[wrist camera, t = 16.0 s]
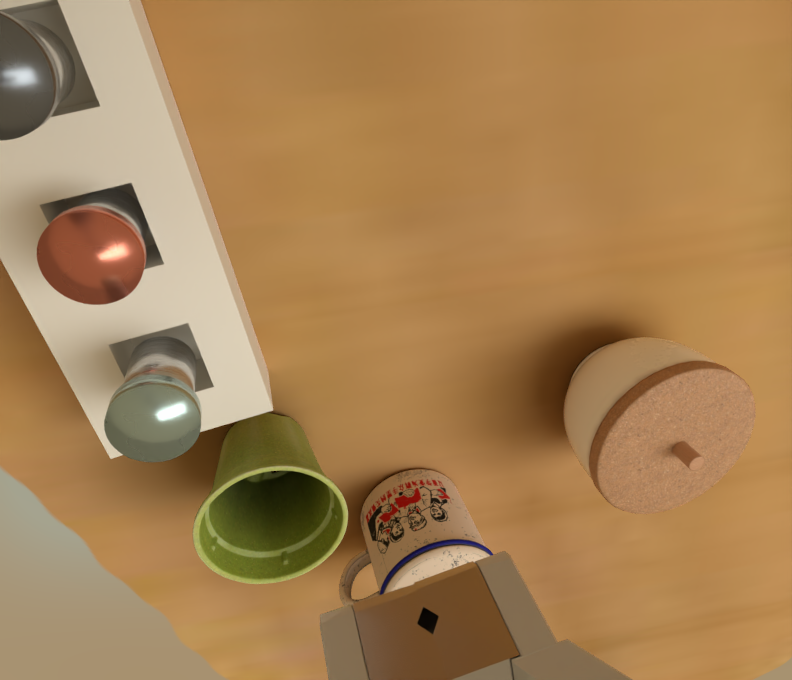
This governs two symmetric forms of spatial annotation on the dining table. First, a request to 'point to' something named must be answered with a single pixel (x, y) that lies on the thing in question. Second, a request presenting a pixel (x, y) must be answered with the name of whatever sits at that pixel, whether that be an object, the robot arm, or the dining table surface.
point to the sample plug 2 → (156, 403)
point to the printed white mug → (413, 532)
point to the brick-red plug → (95, 248)
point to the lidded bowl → (656, 422)
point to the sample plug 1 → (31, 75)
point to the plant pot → (268, 505)
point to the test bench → (162, 206)
